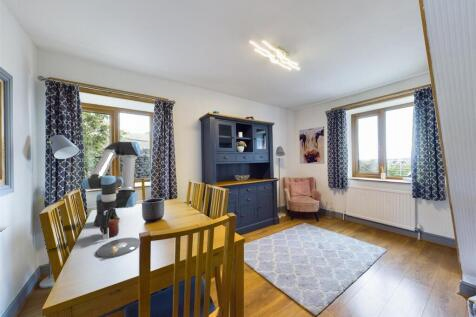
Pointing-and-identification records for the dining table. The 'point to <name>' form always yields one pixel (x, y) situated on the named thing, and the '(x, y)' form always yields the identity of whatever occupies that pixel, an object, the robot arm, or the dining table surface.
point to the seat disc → (118, 247)
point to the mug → (113, 227)
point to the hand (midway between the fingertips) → (109, 235)
